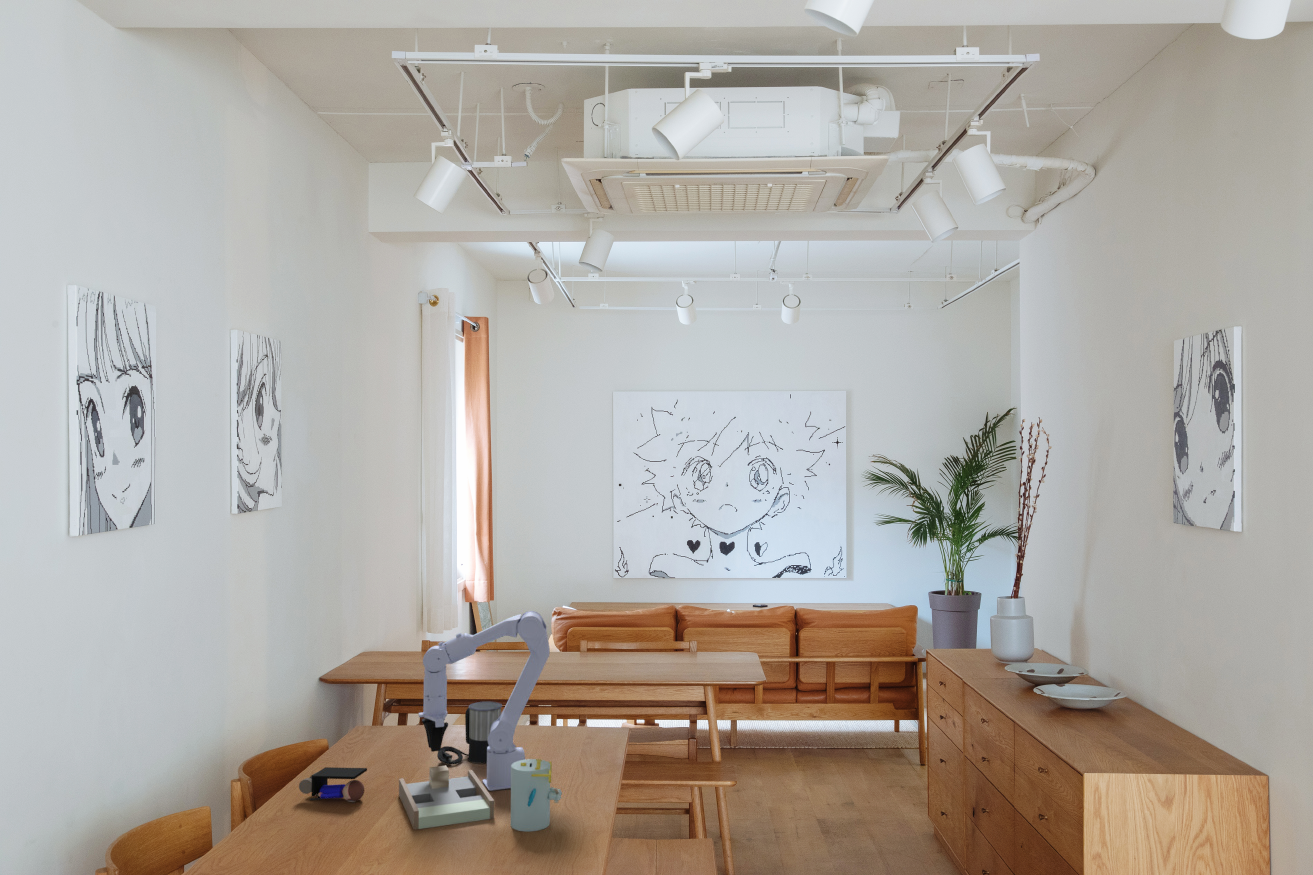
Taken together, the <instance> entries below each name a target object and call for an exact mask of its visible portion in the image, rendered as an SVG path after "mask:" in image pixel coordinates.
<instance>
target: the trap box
mask: <svg viewBox="0 0 1313 875" xmlns="http://www.w3.org/2000/svg"><path fill="white" fill-rule="evenodd" d="M398 796H399V798H400V802H401V804H402V806H403V808H404V810H405V813H406V815H407V817H408V819H409V822H410V824H411V826H412V828H413V830H414V831H415V830H421V829H427V828H436V827H442V826H448V825H456V824H464V823H471V822H478V821H485V820H489V819H490V820H491V819H494V818H495V799H494V798H493V797H492V795H491V794H490V793H489V790H488V789H487V787H486V786H485V785H484V783H483V782H482V781H481V780H480V779H479V777H478V776H477V775H476V773H475V771H473V769H469V770H467V776H460V777H451V778H449V787H443V788H435V789H432V788H431V786H430V784H429V780H427V781H420V782H418V781H417V782H412V783H406V781H405V779H404V778H399V779H398Z"/></svg>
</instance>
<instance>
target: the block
mask: <svg viewBox="0 0 1313 875" xmlns="http://www.w3.org/2000/svg"><path fill="white" fill-rule="evenodd" d="M428 774H429V780H428V781H429V784H430V786H431V788H432V789H435V788H443V787H449V779H450V770H449V768H448V767H447V764H445V765H440V766H439V765H438V766H430V767H429V773H428Z"/></svg>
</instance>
